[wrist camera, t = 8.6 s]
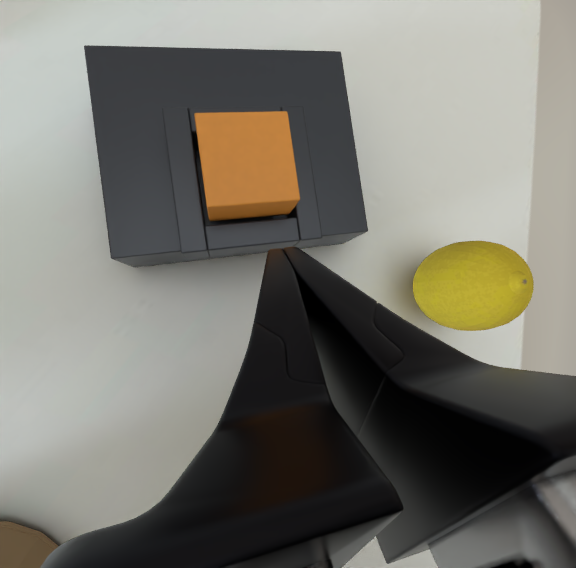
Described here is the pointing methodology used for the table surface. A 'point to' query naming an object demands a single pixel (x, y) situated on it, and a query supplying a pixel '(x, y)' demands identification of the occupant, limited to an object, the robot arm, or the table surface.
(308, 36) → the table surface
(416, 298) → the lemon
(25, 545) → the alarm clock
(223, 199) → the key
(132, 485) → the table surface
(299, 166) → the push button
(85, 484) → the table surface
